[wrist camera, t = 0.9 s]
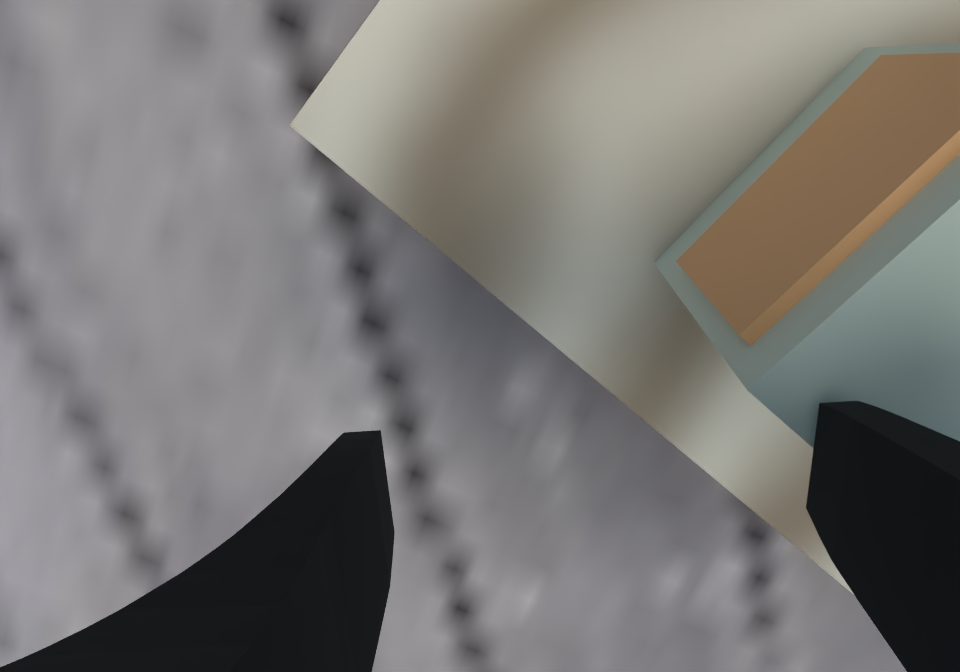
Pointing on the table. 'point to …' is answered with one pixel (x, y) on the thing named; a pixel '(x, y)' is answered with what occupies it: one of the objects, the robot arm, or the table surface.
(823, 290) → the carton
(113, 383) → the table surface
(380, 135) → the shelf board
